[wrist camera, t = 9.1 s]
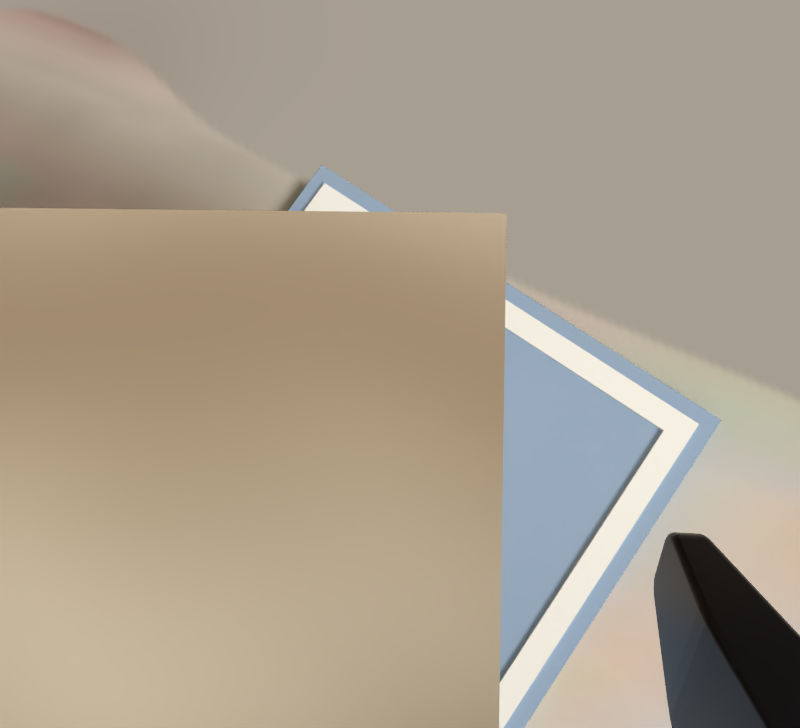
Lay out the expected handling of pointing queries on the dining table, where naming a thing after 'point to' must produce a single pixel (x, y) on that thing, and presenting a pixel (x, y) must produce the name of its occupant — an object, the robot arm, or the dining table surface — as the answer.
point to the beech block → (251, 468)
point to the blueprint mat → (564, 474)
